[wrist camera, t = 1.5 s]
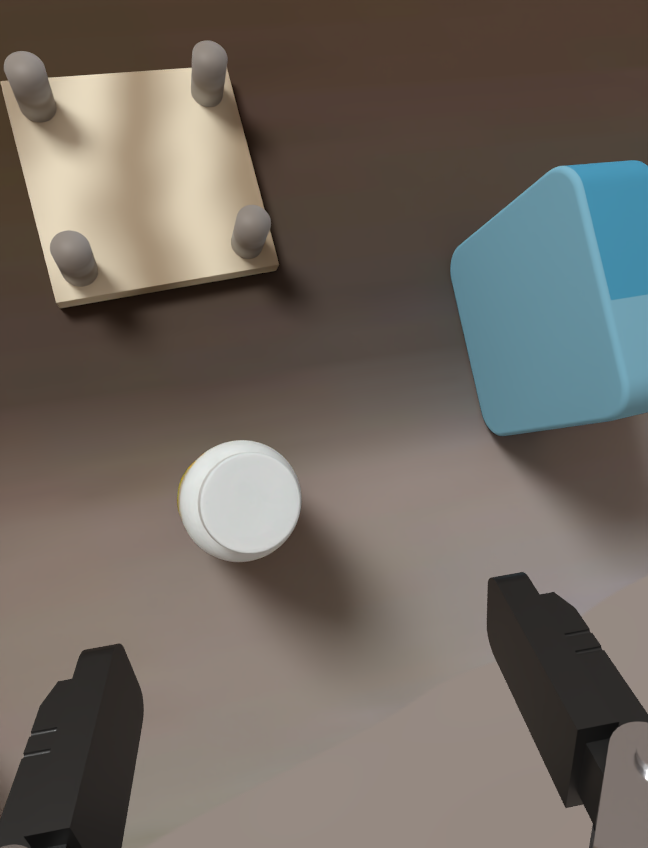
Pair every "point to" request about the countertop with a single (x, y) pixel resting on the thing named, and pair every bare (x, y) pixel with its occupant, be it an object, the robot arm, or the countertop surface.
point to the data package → (560, 301)
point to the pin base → (138, 177)
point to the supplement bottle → (239, 501)
